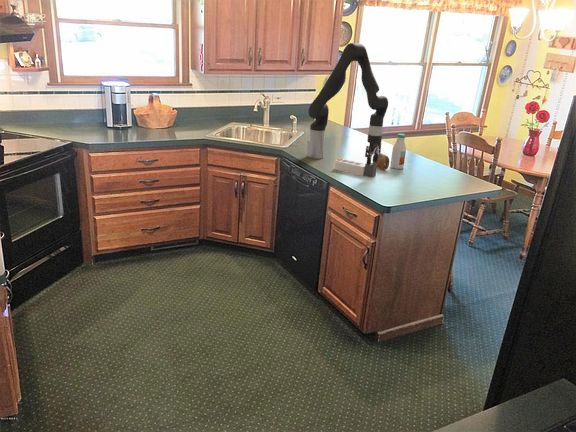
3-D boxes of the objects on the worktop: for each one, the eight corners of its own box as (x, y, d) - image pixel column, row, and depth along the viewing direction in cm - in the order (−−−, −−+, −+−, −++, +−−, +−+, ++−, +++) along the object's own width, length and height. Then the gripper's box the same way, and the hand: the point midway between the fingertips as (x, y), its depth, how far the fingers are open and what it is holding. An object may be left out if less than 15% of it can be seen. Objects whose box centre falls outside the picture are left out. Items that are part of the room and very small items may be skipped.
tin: (371, 164, 299) (373, 150, 296) (376, 164, 300) (377, 150, 297) (384, 171, 286) (386, 157, 283) (389, 171, 287) (391, 157, 284)
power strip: (334, 169, 285) (335, 159, 283) (340, 166, 290) (341, 157, 288) (362, 175, 276) (363, 166, 274) (368, 173, 281) (369, 163, 279)
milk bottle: (393, 169, 291) (398, 135, 284) (387, 165, 298) (392, 132, 291) (405, 169, 293) (410, 135, 286) (399, 165, 300) (404, 132, 293)
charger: (359, 174, 278) (361, 162, 275) (363, 172, 281) (364, 161, 279) (372, 177, 274) (373, 165, 271) (375, 175, 277) (377, 164, 275)
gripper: (374, 130, 276) (371, 159, 281) (362, 134, 265) (359, 164, 270) (387, 133, 272) (383, 161, 278) (375, 136, 261) (372, 166, 267)
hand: (371, 162), depth 274 cm, fingers open, 8 cm apart
